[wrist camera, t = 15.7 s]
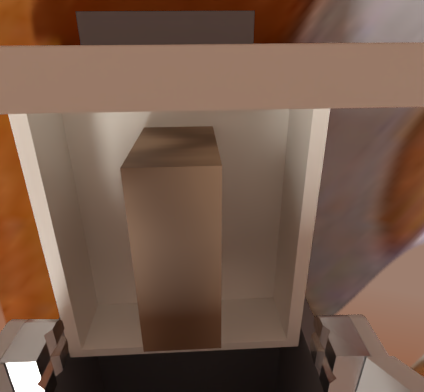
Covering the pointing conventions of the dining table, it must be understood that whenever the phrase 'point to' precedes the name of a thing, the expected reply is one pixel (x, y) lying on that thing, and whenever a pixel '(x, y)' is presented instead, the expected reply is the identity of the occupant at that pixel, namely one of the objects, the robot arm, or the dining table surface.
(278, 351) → the cabinet
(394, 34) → the dining table surface
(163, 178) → the walnut block
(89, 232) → the drawer
